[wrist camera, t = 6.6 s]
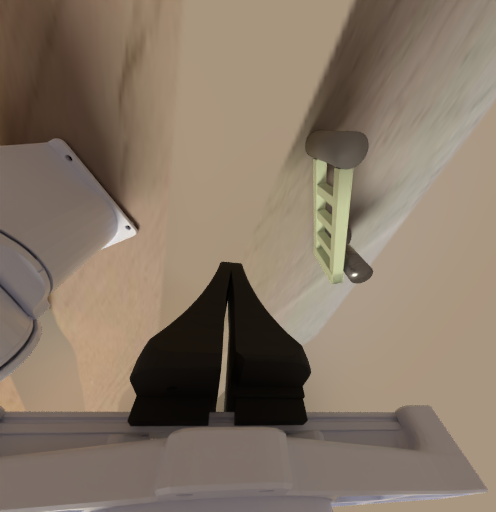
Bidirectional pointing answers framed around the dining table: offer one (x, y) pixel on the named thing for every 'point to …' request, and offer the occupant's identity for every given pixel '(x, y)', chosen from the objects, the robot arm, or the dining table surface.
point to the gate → (333, 193)
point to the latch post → (354, 263)
